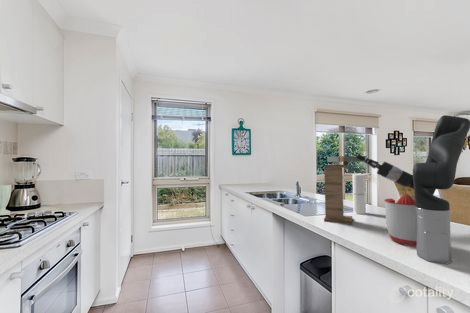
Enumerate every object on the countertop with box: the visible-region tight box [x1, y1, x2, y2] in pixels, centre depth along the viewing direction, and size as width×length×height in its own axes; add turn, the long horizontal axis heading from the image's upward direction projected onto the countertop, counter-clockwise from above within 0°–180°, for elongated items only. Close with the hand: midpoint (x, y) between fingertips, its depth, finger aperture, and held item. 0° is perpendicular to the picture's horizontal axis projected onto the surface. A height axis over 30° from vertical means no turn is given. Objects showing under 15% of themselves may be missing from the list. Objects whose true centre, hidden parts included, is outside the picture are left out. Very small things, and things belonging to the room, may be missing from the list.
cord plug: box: [326, 155, 368, 163], centre depth 130 cm, size 20×5×3 cm, turn 62°
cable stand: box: [323, 161, 353, 225], centre depth 132 cm, size 13×14×34 cm
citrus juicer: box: [384, 193, 417, 247], centre depth 97 cm, size 16×17×20 cm
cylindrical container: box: [351, 173, 367, 215], centre depth 149 cm, size 7×7×25 cm
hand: (357, 156), depth 128 cm, fingers closed on cord plug, 3 cm apart
